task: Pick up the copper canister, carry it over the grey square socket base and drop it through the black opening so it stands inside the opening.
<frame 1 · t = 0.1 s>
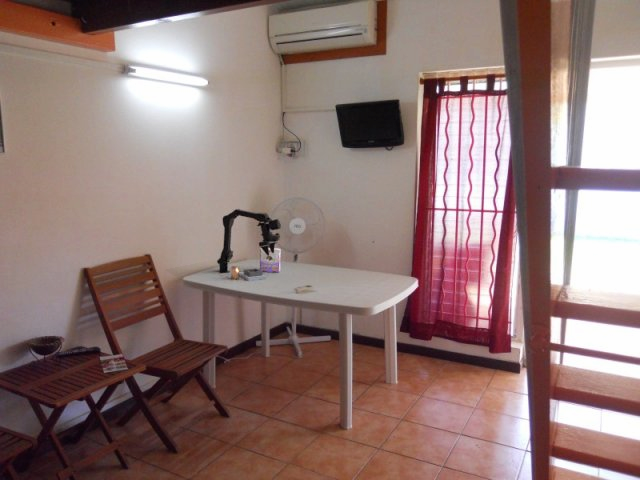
hand: (270, 254, 333), 15 cm above the table, tool pointing down, fingers open, 9 cm apart
grey square socket base: (251, 277, 333), on the table
candy box: (270, 271, 352), on the table
copper canister: (235, 278, 326), on the table
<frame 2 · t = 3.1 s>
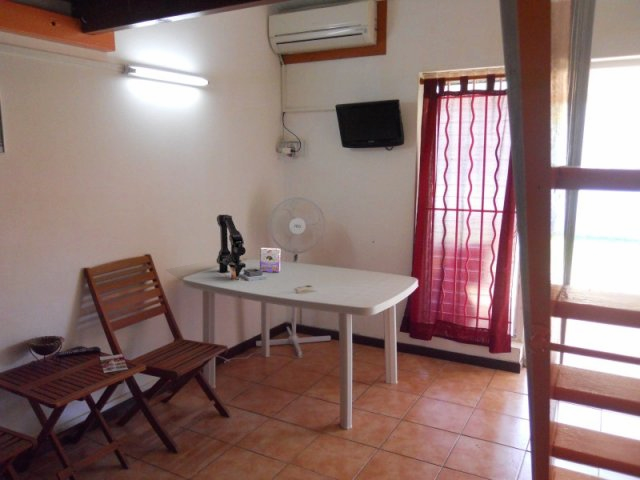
hand: (235, 275, 326), 2 cm above the table, tool pointing down, fingers closed on copper canister, 5 cm apart
copper canister: (235, 278, 326), on the table, touching gripper
everything else where it was.
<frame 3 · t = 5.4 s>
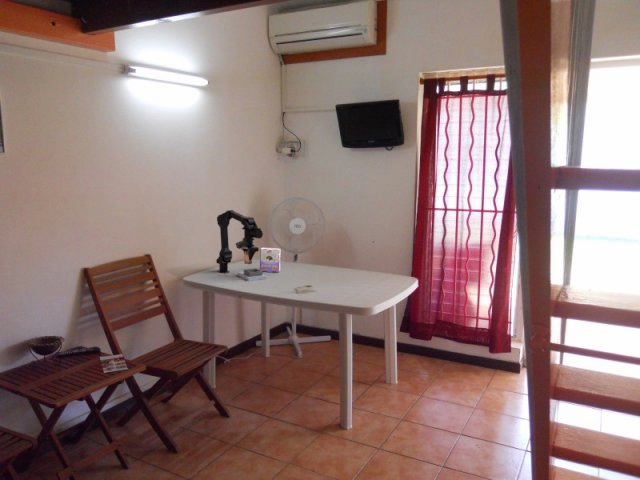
hand: (248, 260, 328), 12 cm above the table, tool pointing down, fingers closed on copper canister, 5 cm apart
copper canister: (248, 263, 328), point 10 cm above the table, touching gripper
everything else where it was.
when the fingers open (7 cm above the table, at t = 7.6 s): copper canister drops 5 cm, resting in grey square socket base.
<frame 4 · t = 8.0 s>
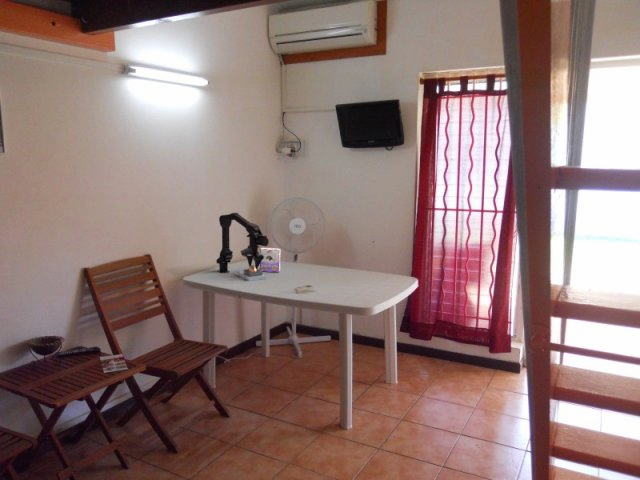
hand: (253, 267, 330), 7 cm above the table, tool pointing down, fingers open, 9 cm apart
copper canister: (252, 277, 331), resting in grey square socket base
everything else where it was.
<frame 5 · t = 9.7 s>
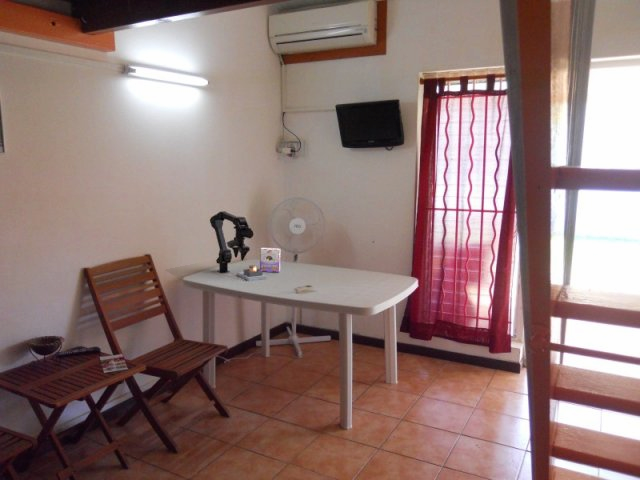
hand: (239, 259, 333), 12 cm above the table, tool pointing down, fingers open, 9 cm apart
nothing on the table moved.
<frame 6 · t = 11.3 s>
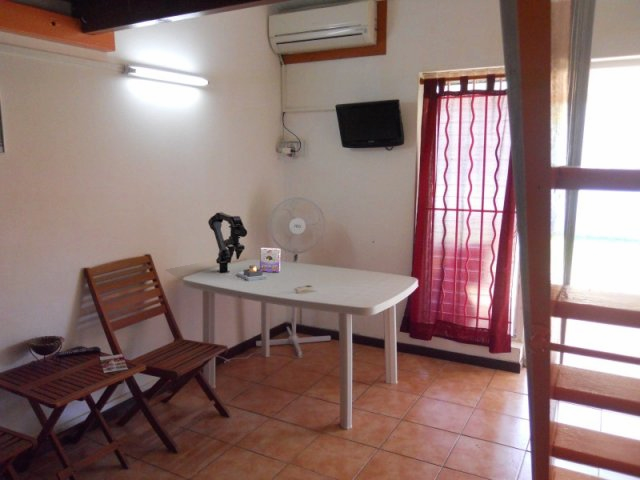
hand: (234, 258, 334), 12 cm above the table, tool pointing down, fingers open, 9 cm apart
nothing on the table moved.
at the end: copper canister 0.1 cm from the target spot on the grey square socket base, point 0.0 cm above the grey square socket base's base; copper canister tilted 0°; the gripper is holding nothing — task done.
